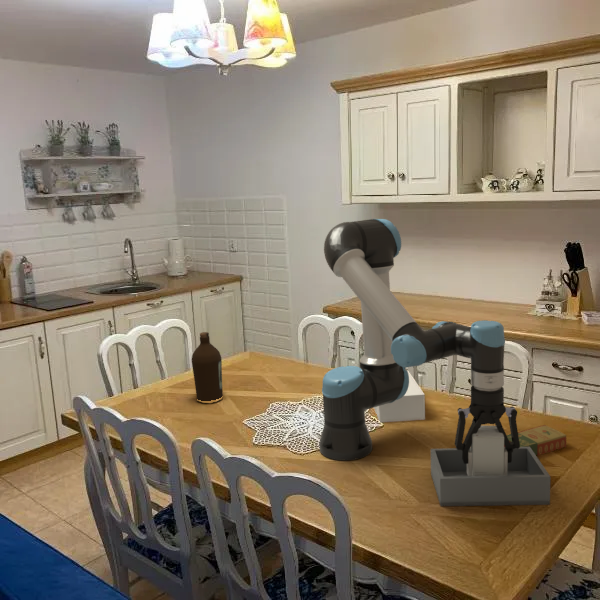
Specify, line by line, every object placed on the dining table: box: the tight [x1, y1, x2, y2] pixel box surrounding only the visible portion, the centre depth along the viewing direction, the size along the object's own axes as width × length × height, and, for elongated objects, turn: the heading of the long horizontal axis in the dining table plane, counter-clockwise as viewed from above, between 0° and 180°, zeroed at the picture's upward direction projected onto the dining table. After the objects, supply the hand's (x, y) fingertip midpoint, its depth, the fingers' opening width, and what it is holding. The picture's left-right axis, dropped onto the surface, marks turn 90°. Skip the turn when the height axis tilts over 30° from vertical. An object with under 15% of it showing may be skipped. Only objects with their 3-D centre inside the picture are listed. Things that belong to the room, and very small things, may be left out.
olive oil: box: [191, 331, 224, 401], centre depth 222 cm, size 11×11×25 cm
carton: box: [504, 424, 567, 456], centre depth 172 cm, size 8×16×4 cm, turn 113°
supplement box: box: [470, 425, 504, 476], centre depth 150 cm, size 7×7×13 cm
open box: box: [430, 447, 551, 507], centre depth 151 cm, size 25×16×7 cm, turn 86°
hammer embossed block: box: [373, 369, 426, 423], centre depth 207 cm, size 14×25×11 cm, turn 2°
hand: (486, 474), depth 151 cm, fingers closed on supplement box, 8 cm apart
